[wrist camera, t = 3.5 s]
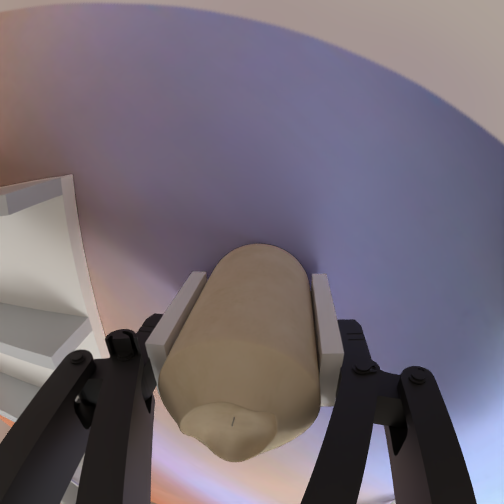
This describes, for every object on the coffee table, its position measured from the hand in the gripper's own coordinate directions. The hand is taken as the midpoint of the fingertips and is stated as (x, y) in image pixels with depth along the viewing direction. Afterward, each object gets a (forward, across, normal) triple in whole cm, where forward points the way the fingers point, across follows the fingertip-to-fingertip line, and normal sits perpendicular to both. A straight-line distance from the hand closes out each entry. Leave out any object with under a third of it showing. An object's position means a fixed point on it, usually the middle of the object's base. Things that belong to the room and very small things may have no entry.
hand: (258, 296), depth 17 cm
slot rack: (+1, +20, +2) cm, 20 cm away
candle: (+1, 0, 0) cm, 1 cm away
